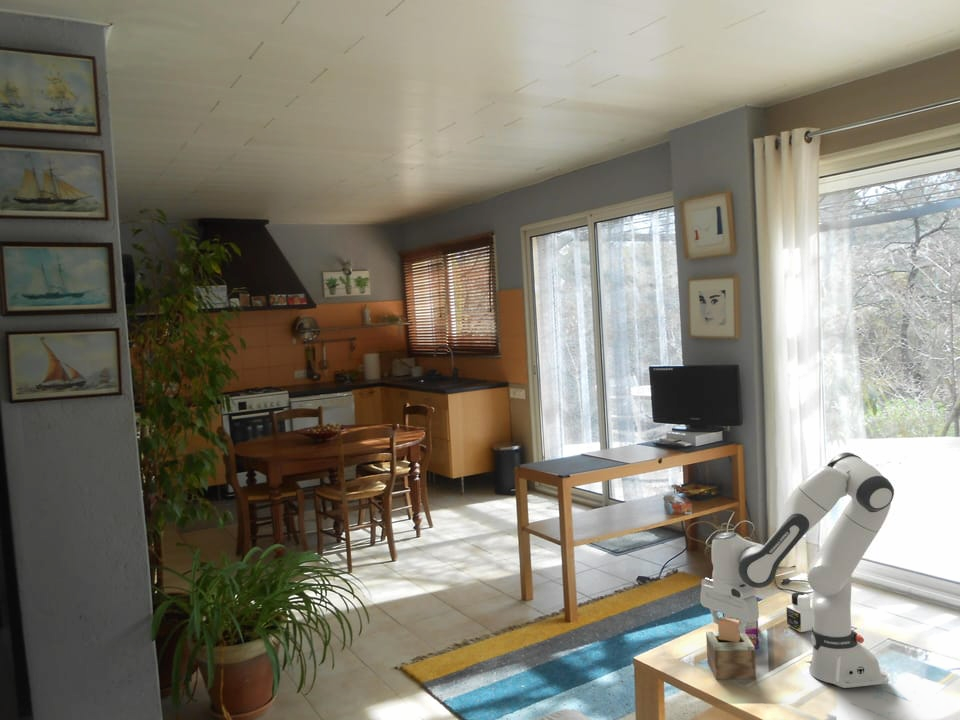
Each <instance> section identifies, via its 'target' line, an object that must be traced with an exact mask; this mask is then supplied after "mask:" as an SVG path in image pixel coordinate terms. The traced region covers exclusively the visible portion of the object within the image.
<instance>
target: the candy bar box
mask: <svg viewBox="0 0 960 720" xmlns="http://www.w3.org/2000/svg"><path fill="white" fill-rule="evenodd" d="M755 597H756V598H757V596H756V595H755ZM722 618H729V619H736V620H740V619H737V618H734V617H732V616H729V615H726V614H723V613H722ZM741 624H742V623H740V626H741ZM745 633H746V635H747V636H748V638H749V639H750V641H751V642H752V644H753V645H754V647H755V649H759V648H760V646H759V620H758V621H755V622H752V623H748V624H747V625H746V627H745Z"/></svg>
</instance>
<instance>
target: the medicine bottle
mask: <svg viewBox="0 0 960 720" xmlns="http://www.w3.org/2000/svg"><path fill="white" fill-rule="evenodd" d="M785 609H786V625H787V626H788V627H789V628H791V629H794V630H796V631H797V632H800V633H804V632H808V631H812V627H813V612H812V606H811V596H810V595H809V594H808V593H807V592H801V591H797V592H793V593H792V594H791V604H790V605H786V608H785Z"/></svg>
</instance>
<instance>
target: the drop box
mask: <svg viewBox="0 0 960 720" xmlns="http://www.w3.org/2000/svg"><path fill="white" fill-rule="evenodd" d="M705 632H706V633H705V636H706V639H705V640H706V656H707V657H706V658H707V664H708V666H709V668H710V670H711V673H712V675H713V676H714V678H715V680H754V679H755V680H756V679H757V678H756V677H757V676H756V675H757V674H756V673H757V670H756V651H755V649H756V648H755V647H754V645H753V644H752V642H751V641H750V639H749V638H748V636H747V635H746V633H743V634H742V633H740V638H741V639H740V641H739V642H732V641H726V640H720V639H719V633H718V630H717V631H705Z"/></svg>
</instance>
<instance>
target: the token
mask: <svg viewBox="0 0 960 720" xmlns="http://www.w3.org/2000/svg"><path fill="white" fill-rule="evenodd" d="M739 626H740V620H736V619H729V618H723V616H722V617H720V618H719V620H718V624H717V629H718V630H717V631H718V633H719V639H720V640H726V641H732V642H739V641H740V639H741V638H740V632H738V627H739Z"/></svg>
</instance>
